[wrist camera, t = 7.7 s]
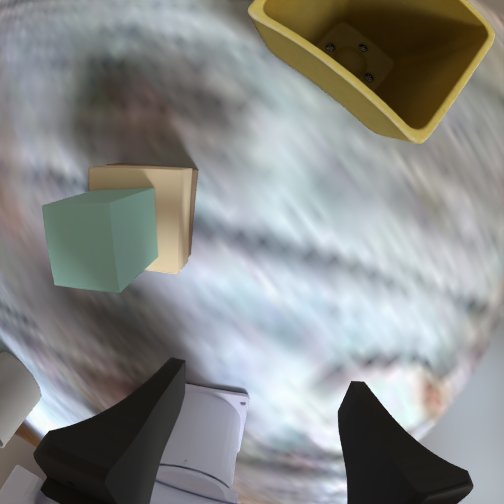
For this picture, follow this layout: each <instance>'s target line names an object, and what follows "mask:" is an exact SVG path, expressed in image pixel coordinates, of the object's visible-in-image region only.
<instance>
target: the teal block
mask: <svg viewBox="0 0 504 504" xmlns="http://www.w3.org/2000/svg"><path fill="white" fill-rule="evenodd" d="M42 209H43V218H44V226H45V234H46V240H47V247H48V253H49V259H50V264H51V269H52V274H53V279H54V284H55V285H57V286H64V287H72V288H79V289H87V290H96V291H104V292H113V293H121V292H122V291H123V290H124V289H125V288H126V287H127V286H128V285H129V284H130V283H131V282H132V281H133V280H134V279H135V278H136V277H137V276H138V275H139V274H140V273H142V272H143V271H144V270H145V269H146V268H147V267H148V266H149V265H150V264H151V263H152V262H153V261H154V260H155V259H157V258H158V244H157V229H156V211H155V188H131V189H108V190H94V191H90V192H87V193H83V194H80V195H76V196H73V197H69V198H66V199H62V200H59V201H56V202H52V203H49V204H46V205H43V206H42Z"/></svg>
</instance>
